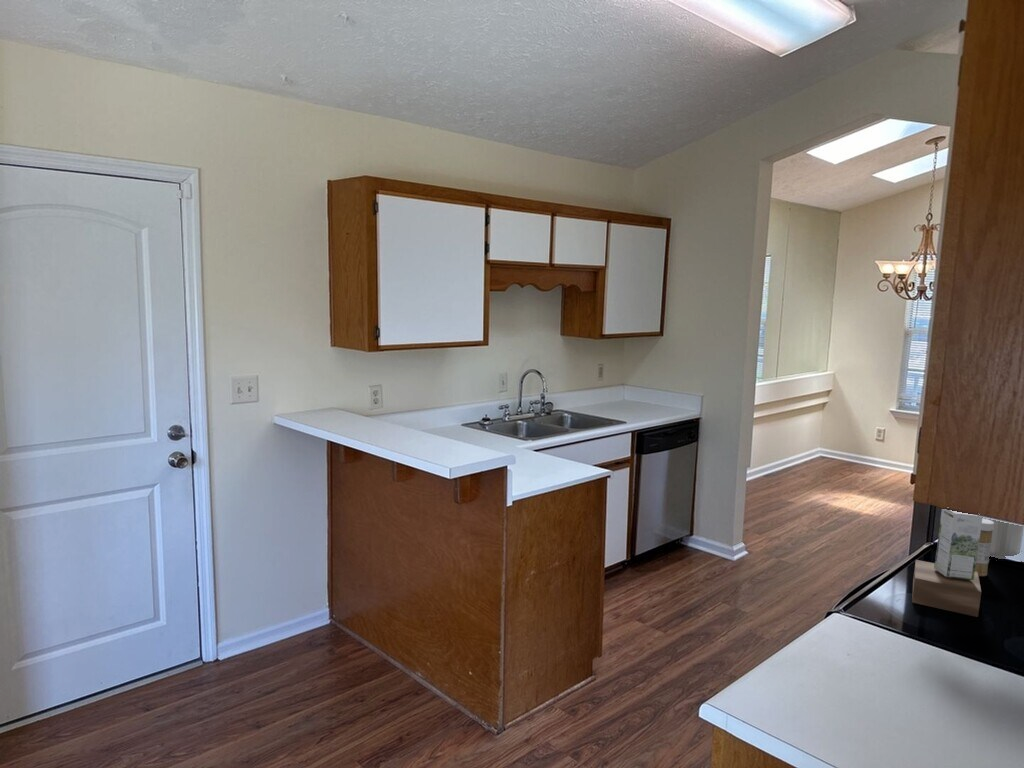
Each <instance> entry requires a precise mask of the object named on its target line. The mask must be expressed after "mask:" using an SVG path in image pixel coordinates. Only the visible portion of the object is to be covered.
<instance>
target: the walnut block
mask: <svg viewBox="0 0 1024 768" xmlns="http://www.w3.org/2000/svg"><path fill="white" fill-rule="evenodd" d="M934 565H935V562H930V561H926V560H919V559H915V564H914V571H913V577H912V593H911V594H912V598H911V600H912V601H911V603H913V604H918V605H923V606H927V607H930V608H931V607H932V608H935V609H940V610H944V611H948V612H952V613H953V612H954V613H957V614H962V615H967V616H970V617H975V618H978V617H979V612H980V611H979V610H980V604H981V599H982V598H981V596H982V588H981V584H980V583H981V582H980V576H978V572H976V571H975V574H974V580H968V579H958V578H950V577H946V576H944V575H943V574H941V573H940V572H938V571H937V570H935V568H934Z"/></svg>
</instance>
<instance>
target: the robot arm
mask: <svg viewBox="0 0 1024 768" xmlns="http://www.w3.org/2000/svg"><path fill="white" fill-rule="evenodd" d="M982 518H983V517H982ZM984 519H986V518H984ZM988 520H991V519H988ZM991 521H993V522H994V530H993V532H992V539H991V549H990V556H991V557H995V558H998V559H1005V558H1006V557H1005V556H1014V555H1017V554H1019V553H1020V550H1022V549H1021V548H1022V542H1023V535H1024V526H1019V525H1014V524H1009V523H1004V522H1000V521H996V520H991ZM993 555H994V556H993Z"/></svg>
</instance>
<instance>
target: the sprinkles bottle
mask: <svg viewBox="0 0 1024 768" xmlns="http://www.w3.org/2000/svg"><path fill="white" fill-rule="evenodd" d="M993 530H994V522H993V521H991V520H988V519H984V518H982V525H981V532H980V539H979V546H978V553H977V560H976V567H975V571H976V572H978V577H986V576H987V575H988V570H989V569H988V566H989V563H990V559H989V557H990V549H991V539H992V532H993Z"/></svg>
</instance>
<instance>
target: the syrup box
mask: <svg viewBox="0 0 1024 768" xmlns="http://www.w3.org/2000/svg"><path fill="white" fill-rule="evenodd" d="M939 521H940V522H939V527H938V528H939V529H938V536H937V544H936V551H935V557H934V558H935V559H934V560H935V561H934V563H935V565H934V568H935V570H937V571H938V572H940V573H941V574H943V575H944V576H946V577H950V578H958V579H968V580H974V574H975V567H976V560H977V553H978V546H979V539H980V532H981V525H982V517H981V516H977V515H973V514H968V513H962V512H957V511H952V510H947V509H942V508H941V513H940V520H939Z"/></svg>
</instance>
